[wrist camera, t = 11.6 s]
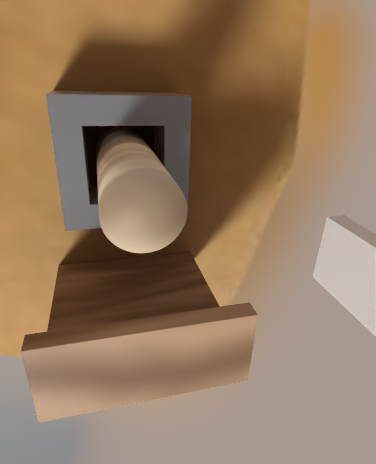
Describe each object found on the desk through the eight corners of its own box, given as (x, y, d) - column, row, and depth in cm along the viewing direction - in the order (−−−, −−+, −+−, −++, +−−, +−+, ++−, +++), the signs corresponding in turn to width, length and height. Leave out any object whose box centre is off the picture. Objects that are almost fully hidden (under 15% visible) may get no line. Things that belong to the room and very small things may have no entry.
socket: (53, 90, 25) (45, 93, 21) (177, 92, 28) (191, 96, 24) (69, 209, 29) (65, 230, 26) (176, 202, 32) (187, 221, 28)
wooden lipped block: (52, 227, 30) (20, 351, 17) (191, 216, 33) (257, 314, 20) (61, 278, 32) (38, 422, 19) (189, 264, 35) (247, 379, 22)
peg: (93, 127, 27) (94, 172, 15) (147, 126, 28) (188, 169, 16) (98, 179, 29) (102, 257, 17) (148, 176, 30) (186, 249, 18)
